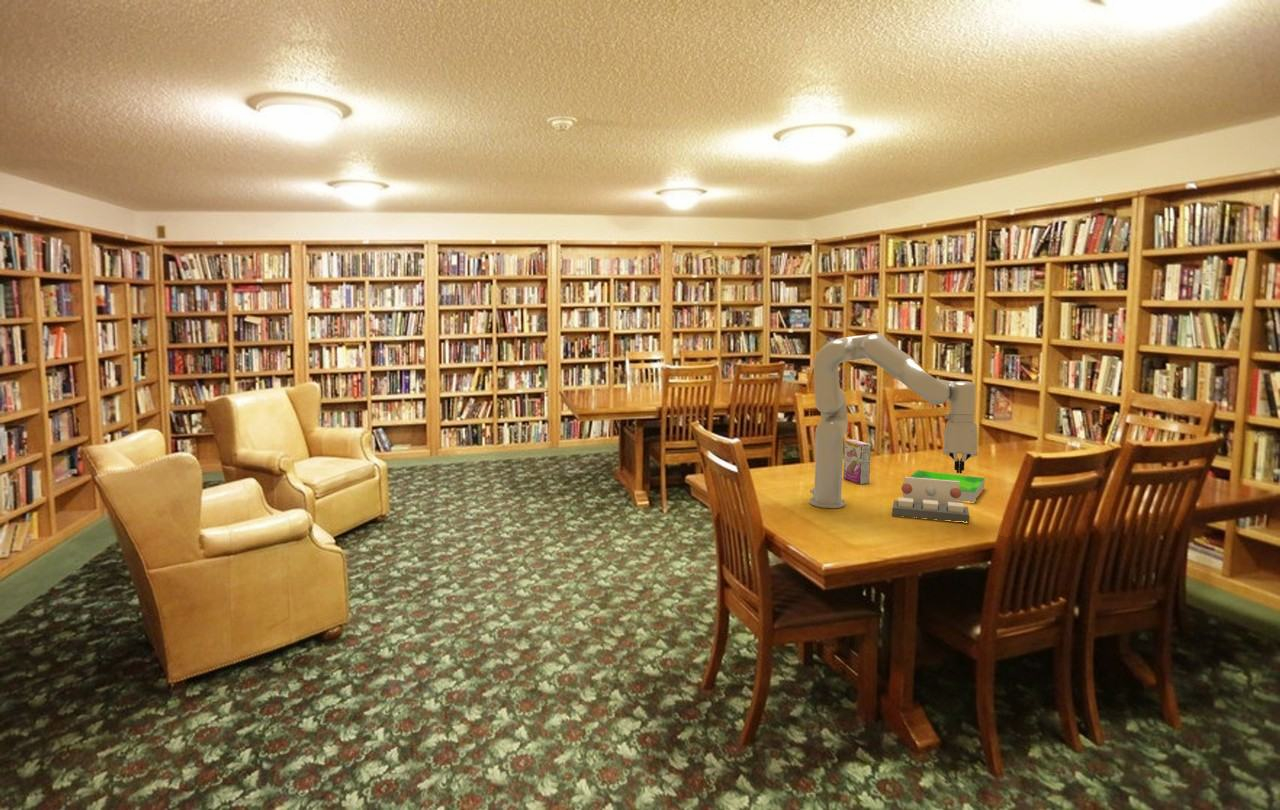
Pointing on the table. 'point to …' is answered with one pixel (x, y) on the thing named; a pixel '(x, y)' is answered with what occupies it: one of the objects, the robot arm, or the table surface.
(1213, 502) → the table surface
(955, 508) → the button
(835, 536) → the table surface
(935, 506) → the middle button
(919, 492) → the button panel
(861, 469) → the candy bar box
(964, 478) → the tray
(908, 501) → the button
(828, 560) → the table surface
